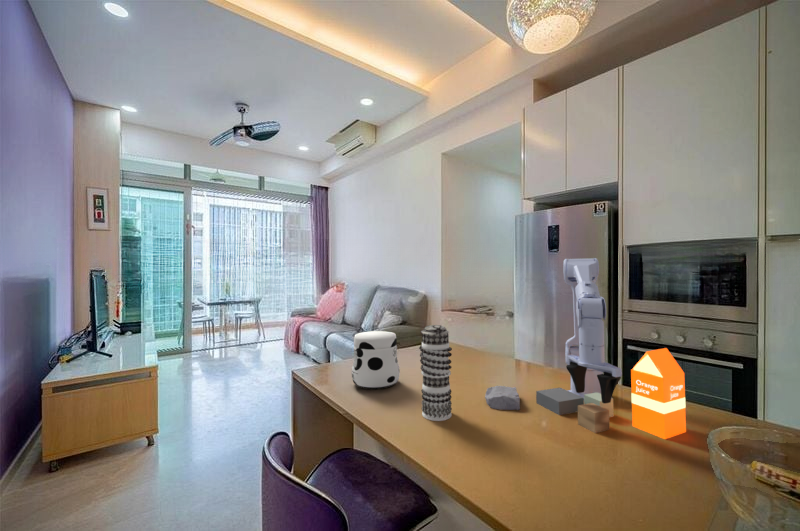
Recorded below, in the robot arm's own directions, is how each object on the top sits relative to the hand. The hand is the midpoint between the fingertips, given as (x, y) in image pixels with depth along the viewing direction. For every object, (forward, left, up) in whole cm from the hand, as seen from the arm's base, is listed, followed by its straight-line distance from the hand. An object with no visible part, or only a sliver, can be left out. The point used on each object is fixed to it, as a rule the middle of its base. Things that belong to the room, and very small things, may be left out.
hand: (592, 397), depth 87 cm
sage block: (-8, -5, -8) cm, 12 cm away
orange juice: (-14, +7, -8) cm, 18 cm away
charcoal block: (-2, -13, -8) cm, 15 cm away
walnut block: (0, 0, -8) cm, 8 cm away
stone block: (+11, -23, -8) cm, 27 cm away
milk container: (+43, -53, -8) cm, 69 cm away
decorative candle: (+34, -22, -8) cm, 41 cm away
